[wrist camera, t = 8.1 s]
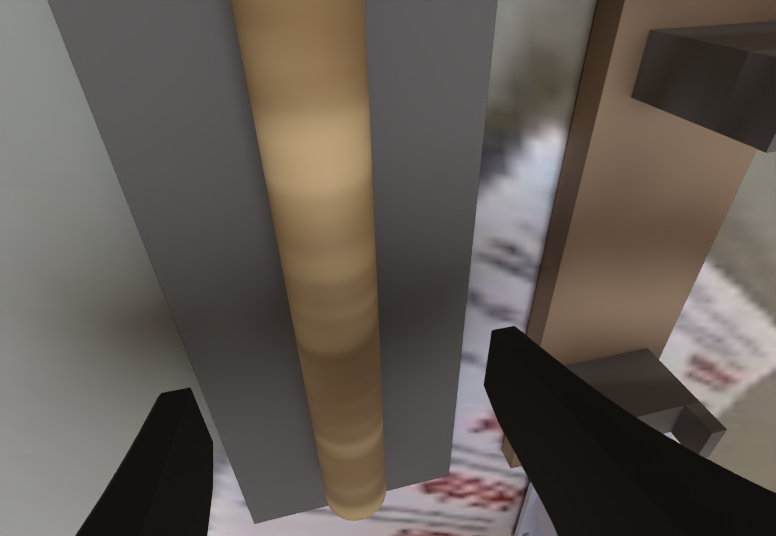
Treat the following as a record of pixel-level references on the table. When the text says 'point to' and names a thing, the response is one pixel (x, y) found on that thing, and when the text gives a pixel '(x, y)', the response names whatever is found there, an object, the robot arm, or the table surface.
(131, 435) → the table surface
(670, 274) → the hook stand
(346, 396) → the rail
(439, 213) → the mat
